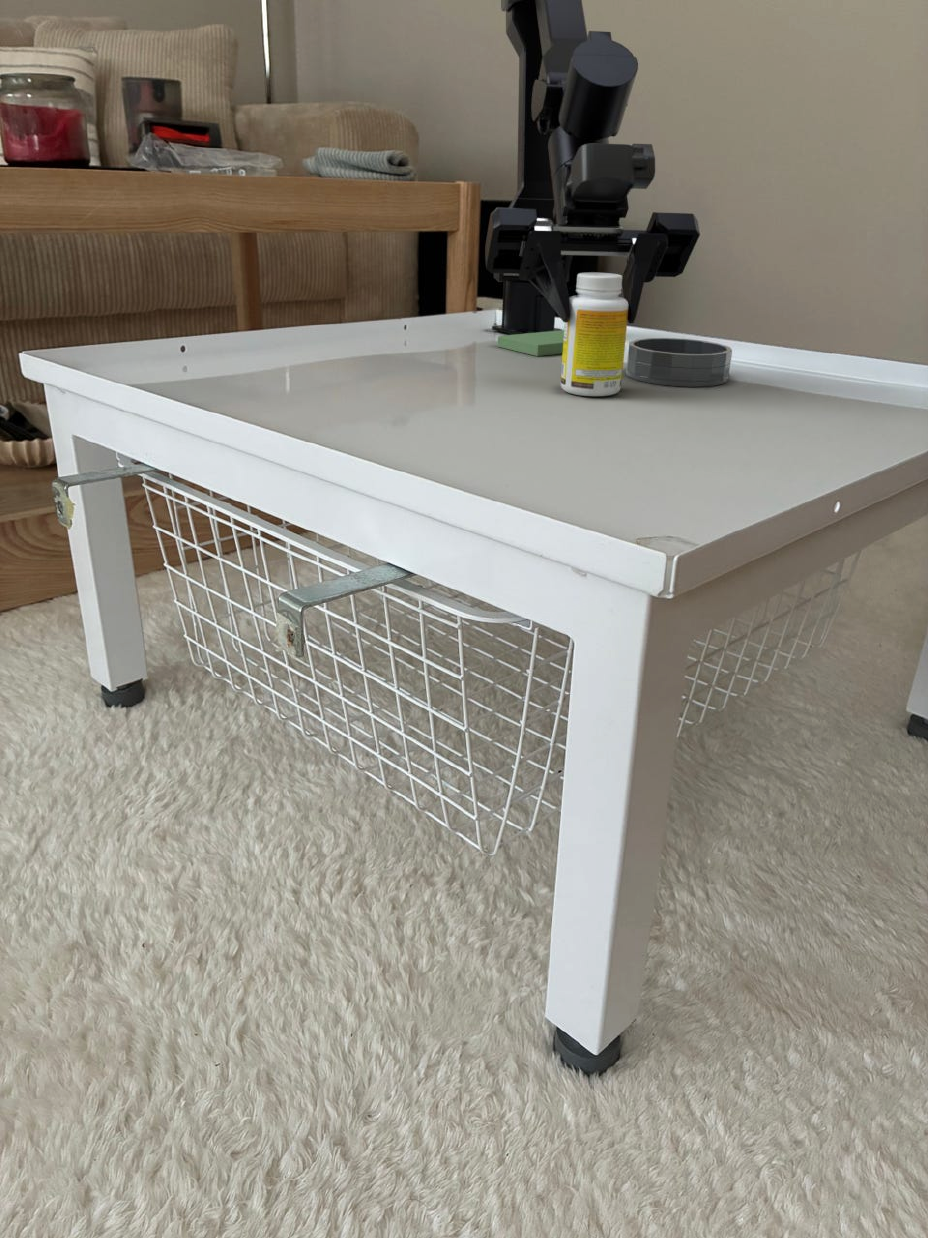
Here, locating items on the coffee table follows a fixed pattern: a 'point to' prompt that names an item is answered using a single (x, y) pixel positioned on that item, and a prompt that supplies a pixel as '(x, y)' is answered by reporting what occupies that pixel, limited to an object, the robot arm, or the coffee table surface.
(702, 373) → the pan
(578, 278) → the supplement bottle
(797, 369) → the coffee table surface
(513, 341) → the green rectangular slab
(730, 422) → the coffee table surface
